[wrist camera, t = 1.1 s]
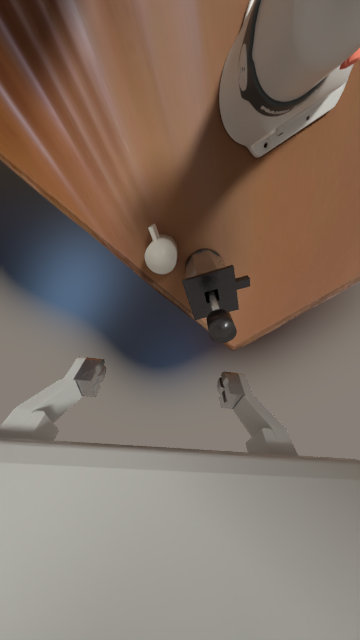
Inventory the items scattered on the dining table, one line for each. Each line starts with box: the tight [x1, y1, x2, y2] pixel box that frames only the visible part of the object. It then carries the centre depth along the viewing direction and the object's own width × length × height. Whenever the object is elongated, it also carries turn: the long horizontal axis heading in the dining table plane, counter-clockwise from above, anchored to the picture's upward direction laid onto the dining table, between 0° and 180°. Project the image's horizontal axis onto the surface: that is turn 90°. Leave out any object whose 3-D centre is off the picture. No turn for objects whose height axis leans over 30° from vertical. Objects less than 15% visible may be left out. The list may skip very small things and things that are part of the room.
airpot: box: [182, 249, 250, 320], centre depth 43 cm, size 15×12×18 cm
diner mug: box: [145, 224, 177, 274], centre depth 43 cm, size 8×11×9 cm
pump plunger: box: [207, 290, 237, 343], centre depth 35 cm, size 4×4×21 cm
